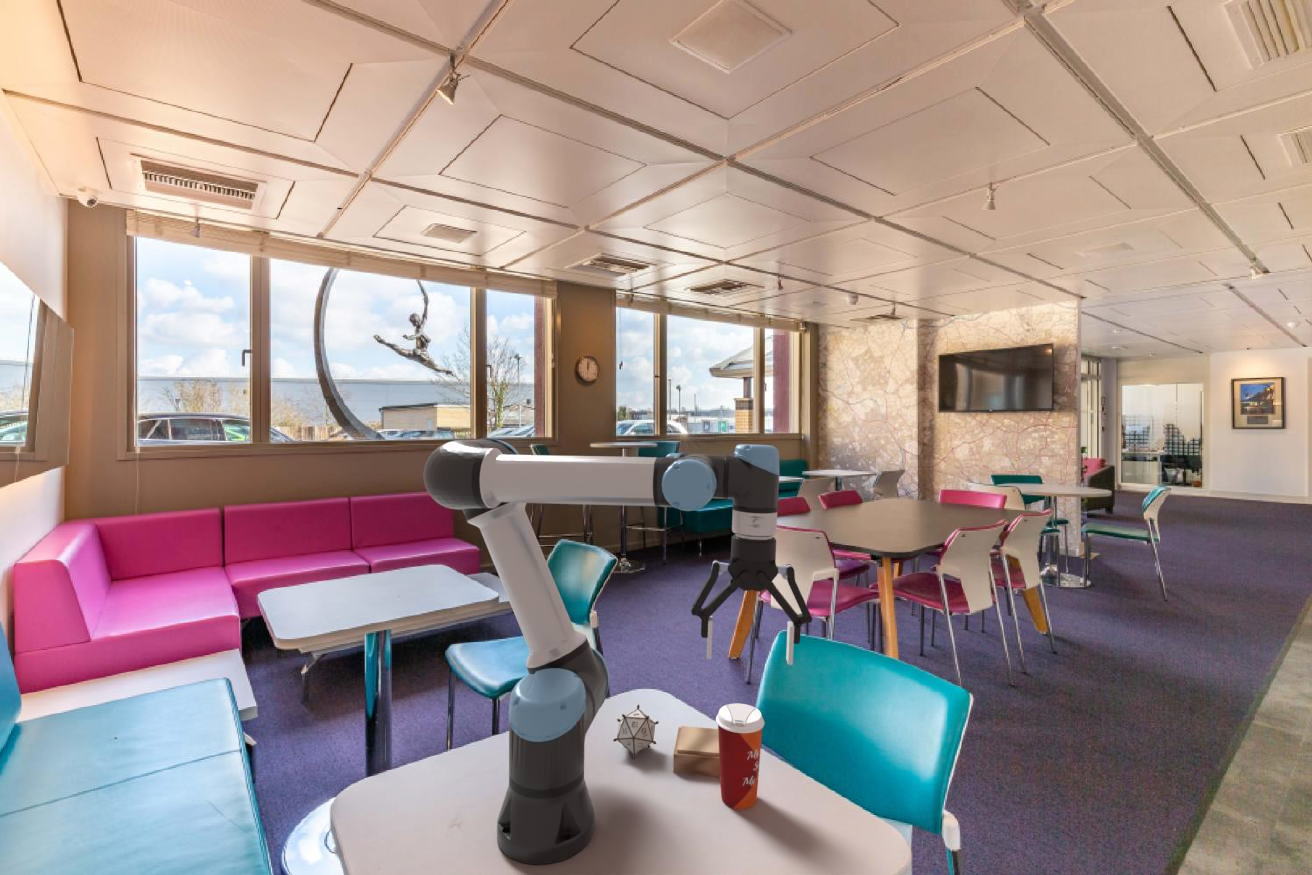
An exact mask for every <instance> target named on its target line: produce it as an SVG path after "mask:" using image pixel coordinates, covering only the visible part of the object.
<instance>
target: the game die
mask: <svg viewBox="0 0 1312 875" xmlns="http://www.w3.org/2000/svg"><path fill="white" fill-rule="evenodd" d="M621 717H622V719H620V718H617V719H616V721H617V722H618V723H619V725H618V730H617V735H616V738H613V740H612V742H617V741H618V743H620V744H621V745H622V746H623V747H624V748H625V749H627V750H628V751H629V752H630V753H631V754H632V758H633V760H635V759H636V755H637V754H638V753H639V752H641V751H642V750H644V749H645V748H647V749H651V745H652V744H653V745H657V742H656V740H654V737H655V730H656V729H655V728H656V725H658V724H659V723H660V721H658V720H657V721H654V720H653V719H652V718H650V715H647V714H645V713H644V712H643V711H642V710H641V709H640V704H639V703H638V704H637V706H636V709H635V710H633V711H631V712H630V713H629V714H627V715H626V714H625V713H623V714H621Z"/></svg>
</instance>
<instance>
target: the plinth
mask: <svg viewBox="0 0 1312 875" xmlns="http://www.w3.org/2000/svg"><path fill="white" fill-rule="evenodd" d="M674 744H675V745H674V748H673V749H674V750H673V756H672V757H673V759H672V760H673V764H672V765H673V766H672V768H673V769H672V773H678V774H686V775H687V774H688V775H689V774H690V775H698V776H708V777H709V776H710V777H719V778H720V761H719V736H718V728H709V727H697V726H686V725H684V726H683V725H681V726H678V729H677V734H676V740H675V743H674Z"/></svg>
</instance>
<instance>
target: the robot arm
mask: <svg viewBox="0 0 1312 875" xmlns="http://www.w3.org/2000/svg"><path fill="white" fill-rule="evenodd" d="M734 449H735V450H734V452H733V454H725V455H723V454H722V455H719V454H707V453H705V454H704V453H691V452H690V453H689V452H680V453H679V452H678V453H676V452H675V453H674V452H670V453H669V454H666V456H665V457H664V456H663V457H656V456H655V457H653V456H652V457H650V456H648V457H647V456H609V455H608V456H607V455H606V456H605V455H602V456H600V455H558V454H557V455H555V454H554V455H553V454H551V455H548V454H544V455H542V454H520V453H519V451H517V449H516V448H515V447H514V446H513V445H511V444H509V443H508V442H505V441H503V440H499V439H496V438H491V437H481V438H478V439H463V440H462V439H461V440H460V439H459V440H451V441H448V442H446V443H444V444H442V445H440V446H439V447H437V448H436V449H434V450H433V451H432V452H431V454H430V455H429V456H428V458H427V460H426V462H425V465H424V469H423V474H422V476H423V482H424V487H425V489H426V491H427V493H428V495H429V496H430V497H431V498H432V500H434V501H435V503H437V504H439V505H440V506H442V507H444V508H447V509H450V510H462V513H463V514H464V515H463V516H464V517H465V519H466V523H468V524H470V525H472V526H475V527H477V528H478V529H479V531H480V534H481V535H482V537H483V540H484V543H485V545H486V548H487V550H488V553H489V555H490V558H491V561H492V562H493V564H494V566H495V567H494V568H495V570H496V572H497V574H498V577H499V580H500V582H501V584H502V586H503V589H504V592H505V594H506V596H507V599H508V601H509V603H510V606H511V609H512V610H513V613H514V616H515V619H516V620H517V623H518V626H519V628H520V631H521V634H522V635H523V638H524V640H525V643H526V646H527V648H528V650H529V654H528V657H527V660H526V663H525V667H526V669H527V672H528V674H527V675H526V676H524V677H522V678H520V679H519V681H518V682H517V683H516V684H515V686H514V687H513V688H512V690H511V694H510V697H509V698H510V699H509V705H508V712H507V715H508V718H507V719H508V774H509V775H508V787H507V790H506V793H505V796H504V799H503V801H502V806H501V808H500V811H499V814H498V817H497V821H496V822H497V823H496V840H497V845H498V847H499V848H500V851H502V853H504V854H505V855H506V857H509V858H510V859H512V860H515V861H517V862H520V863H524V864H529V865H530V864H531V865H546V864H553V863H557V862H561V861H563V860H566V859H569V858H571V857H572V856H575V855H576V854H577V853H580V852H581V851H582V850H583V849H584V848H585V847H587V845H588V844H589V843H590V842H591V840H592V839H593V836H594V833H595V827H596V826H595V825H596V824H595V823H596V820H595V817H596V815H595V807H594V804H593V801H592V798H591V795H590V793H589V789H588V786H587V782H586V781H585V743H586V741H585V740H586V735H587V733H588V731H589V729H590V727H591V725H592V723H593V721H594V720H595V718H596V716H597V714H598V712H599V710H600V709H601V707H602V706H603V704H604V703H605V700H606V698H607V695H608V692H609V687H610V679H611V677H610V670H609V666H608V663H607V661H606V659H605V657H604V656H603V655H602V654H601V652H599V651H598V650H597V649H596V648H595V649H594V648H593V647H591V645H590V642H589V640H588V637H587V635H586V634H584V633H582V632H580V631H577V630H576V629H575V628H574V626H573V622H572V621H571V619H570V616H569V614H568V611H567V609H566V606H565V604H564V601H563V599H562V597H561V594H560V591H559V590H558V586H557V585H556V583H555V579H554V577H553V574H552V572H551V570H550V568H549V565H548V563H547V560H546V559H545V555H544V553H543V551H542V548H541V546H540V543H539V540H538V539H537V537H536V533H535V530H534V529H533V526H532V523H531V522H530V519H529V517H528V514H527V512H526V506H527V504H558V505H559V504H560V505H565V504H566V505H593V506H594V505H595V506H596V505H597V506H599V505H602V506H603V505H604V506H606V505H607V506H633V507H634V506H637V507H638V506H639V507H640V506H641V507H662V508H675V509H678V510H680V511H682V512H683V511H684V512H692V511H697V510H700V509H702V508H703V507H705V506H706V505H707V504H709V502H711V501H712V499H722V500H723V499H724V500H732V503H733V504H732V520H731V523H732V524H731V531H732V533H734V534H733V535H732V536H731V543H730V544H731V545H730V546H731V548H730V550H731V551H730V560H729V563H726V562H722V561H721V562H720V560H718V559H714V560H713V561H712V562H711V563H712V565H711V571H710V573H709V575H708V577H707V579H706V581H705V582H704V584H703V586H702V587H701V589H700V591H699V593H698V595H697V596H696V598H695V600H694V602H693V604H692V605H691V610H690V612H691V615H692V616H694V617H695V616H696V617H698V618H700V619H701V622H700V624H701V625H700V636H701V638H704V639H706V640H707V641H706V642H707V644H706V660H712V650H713V622H714V621H713V620H714V619H713V618H714V617H713V614H714V613H715V612H716V611H717V610H718V609H719V608H720V607H721V606H722V605H723V604H724V602H725V601H726V600H727V599H728V598H729V597H730V596H731V595H732V594H733V593H735V592H736V591H737V590H738V588H739V589H741V590H742V591H744V592H745V591H746V592H748V591H754V592H762V591H764V590H767V592H768V593H769V594H770V595H771V596H772V597H773V599H774V600H775V601H776V602H777V604H778V605H779V606H780V608H781V609H782V610H783V611H784V613H785V614H786V615H787V616H788V618H789V620H787V630H786V633H787V634H786V655H785V659H786V662H787V665H788V666H793V665H794V664H793V663H794V646H795V645H800V642H801V630H802V629H801V628H802V625H803V624H807V623H808V624H811V623H812V622H813V617H812V615H811V612H810V611H809V608H808V606H807V604H806V601H805V599H804V596H803V595H802V593H801V591H800V590H801V589H800V588H799V587H798V583H797V582H796V576H795V575H796V574H795V569H794V567H793V565H792V564H791V563H788V564H785V565H780V566H779V565H777V564H776V560H777V558H776V557H777V556H776V555H777V554H776V553H777V539H776V538H775V537H774V536H776V535H777V532H778V531H777V528H778V526H777V525H778V504H779V490H780V489H779V487H780V485H779V484H780V474H781V473H780V451H779V450H778V448H777V447H775V446H774V445H771V444H769V445H768V444H748V443H744V444H743V443H740V444H737V445H736V446H735V448H734ZM725 572H728V574H729V575H730V577H731V578H730V580H729V581H727V583H726V585H725V586H723V588H722V589H721V590H720V591H719V592H718V593H717V594H716V595H715V596H714V597H713V598H712V599H711V600H710V601H709V603H708V604H707V605H706V606H705V607H704V608H703V605H704V604H705V602H706V600H707V598H708V596H709V595H710V593H711V591H712V589H713V588H714V586H715V585H716V582H717V580H718V579H719V576H723V575H724V573H725ZM778 574H780V575H781V577H782V579H784V580H786V581H787V583H788V584H787V585H788V586H789V588H790V591H791V592H792V595H793V597H794V599H795V601H796V603H797V606H798V607H799V610H800V612H801V613H800V614H798V613H797V612H796V611H795V609H794V608H793V607H792V605H791V604H790V603H789V602H788V601H787V599H786V598H785V597H784V595H783V594H782V593H781V592H780V590H779V589H778V587H776V584H774V582H773V581H774V579H776V577H777V576H778Z"/></svg>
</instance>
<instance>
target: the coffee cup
mask: <svg viewBox="0 0 1312 875" xmlns="http://www.w3.org/2000/svg"><path fill="white" fill-rule="evenodd" d="M715 721H716V724H717V729H718V736H719V761H720V777H719V779H720V794H721V797H720V798H721V801H722V803H724V805H725V806H727V807H728V808H730V809H733V810H738V811H744V810H750V809H752V808H754V806H755V805H756V803H757V797H758V786H759V776H760V774H759V772H760V760H761V751H762V750H761V747H762V734H763V728H764V726H765V720H764V718H763V716H762V713H761V711H760V710H759V709H758V708H756V707H754V706H752V705H749V704H746V703H739V702H738V703H736V702H735V703H734V702H733V703H729V704H725V705H723V706H722V707H720V708H719V711H718V714H717V715H716V717H715Z"/></svg>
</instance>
